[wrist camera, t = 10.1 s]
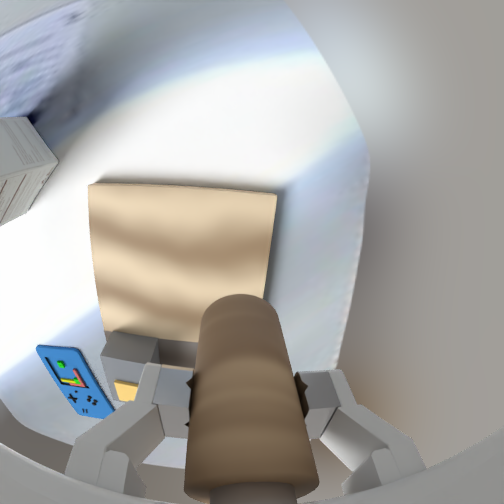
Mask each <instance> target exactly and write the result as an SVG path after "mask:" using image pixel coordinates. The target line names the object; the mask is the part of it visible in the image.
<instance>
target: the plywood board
mask: <svg viewBox="0 0 504 504" xmlns="http://www.w3.org/2000/svg"><path fill="white" fill-rule="evenodd" d="M276 202H277V195H276V194H274V193H265V192H255V191H245V190H233V189H221V188H208V187H194V186H177V185H156V184H124V183H93V184H90V185H88V207H89V226H90V239H91V250H92V259H93V267H94V275H95V282H96V289H97V295H98V301H99V306H100V312H101V317H102V322H103V326H104V332H105V336H106V341H108V339H109V337H110V335H111V333H112V331H118V332H123V333H129V334H135V335H141V336H148V337H155V338H158V348H159V359H160V364H162V365H163V364H164V365H171V366H178V367H186V368H194V372H195V364H196V356H197V348H198V340H199V333H200V325H201V319H202V316H203V314H204V312H205V310H206V309H207V308H208V307H209V306H210V305H211V304H212V303H213V302H215V301H216V300H218V299H220V298H222V297H225V296H228V295H233V294H249V295H253V296H257V297H259V298H261V299H263V293H264V287H265V280H266V273H267V266H268V259H269V252H270V245H271V238H272V231H273V224H274V217H275V209H276Z"/></svg>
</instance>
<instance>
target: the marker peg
mask: <svg viewBox="0 0 504 504" xmlns="http://www.w3.org/2000/svg"><path fill="white" fill-rule="evenodd" d="M194 375H195V376H194V385H193V392H192V399H191V400H192V403H191V413H190V421H189V429H188V441H187V453H186V466H185V481H184V492H185V493H186V494H187V495H188V496H189V497H191V498H193V499H195V500H197V501H200V502H203V503H207V504H297V500H296V499H297V498H300V497H302V496H305V495H307V494H309V493H310V492H312V491H313V490H315V489H316V488H317V487H318V485H319V478H318V474H317V469H316V465H315V461H314V457H313V453H312V449H311V445H310V440H309V436H308V432H307V428H306V424H305V420H304V416H303V412H302V408H301V404H300V400H299V396H298V392H297V388H296V384H295V380H294V376H293V372H292V368H291V364H290V361H289V357H288V353H287V349H286V345H285V341H284V337H283V333H282V329H281V325H280V322H279V318H278V315H277V313H276V311H275V309H274V308H273V307H272V306H271V305H270V304H269V303H268V302H267V301H265V300H263V299H261V298H259V297H257V296H253V295H249V294H233V295H228V296H225V297H222V298H220V299H218V300H216V301H215V302H213V303H212V304H211V305H210V306H209V307H208V308H207V309H206V310H205V312H204V314H203V316H202V319H201V325H200V333H199V340H198V348H197V356H196V364H195V372H194Z"/></svg>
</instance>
